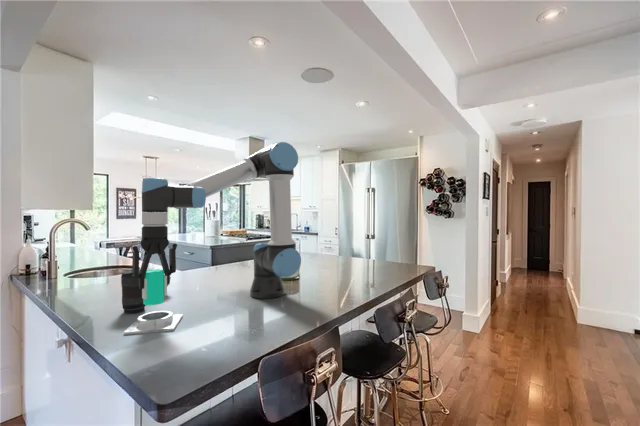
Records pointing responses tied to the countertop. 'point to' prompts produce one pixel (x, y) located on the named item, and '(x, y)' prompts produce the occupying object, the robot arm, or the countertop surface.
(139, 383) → the countertop surface
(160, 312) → the duct flange
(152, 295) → the candle
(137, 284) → the camera lens
